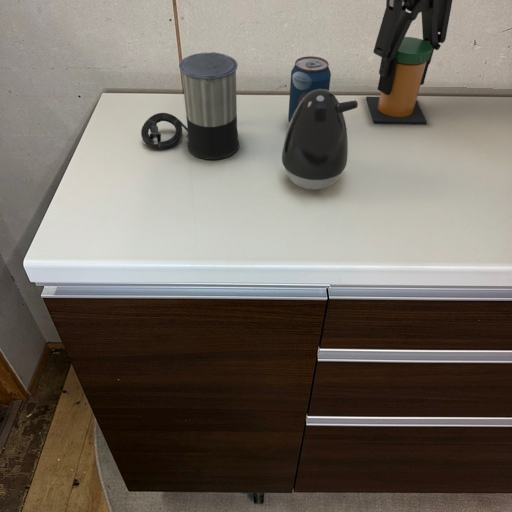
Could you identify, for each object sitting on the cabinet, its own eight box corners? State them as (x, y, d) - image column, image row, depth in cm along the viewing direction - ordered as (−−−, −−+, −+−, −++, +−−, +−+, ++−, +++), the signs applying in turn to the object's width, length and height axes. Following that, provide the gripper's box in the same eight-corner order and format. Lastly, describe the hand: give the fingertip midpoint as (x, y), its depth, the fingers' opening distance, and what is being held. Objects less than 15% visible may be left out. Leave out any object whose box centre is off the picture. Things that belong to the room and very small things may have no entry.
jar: (401, 97, 96) (414, 39, 88) (420, 113, 92) (437, 54, 83) (370, 103, 95) (382, 44, 86) (389, 119, 90) (402, 59, 82)
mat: (414, 99, 97) (415, 97, 96) (426, 124, 90) (426, 121, 89) (366, 99, 97) (366, 96, 97) (373, 123, 90) (374, 120, 90)
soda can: (300, 139, 86) (306, 74, 77) (280, 122, 90) (284, 59, 82) (331, 129, 88) (340, 66, 80) (311, 114, 92) (317, 52, 84)
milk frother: (248, 153, 82) (247, 69, 72) (161, 176, 77) (147, 89, 67) (216, 116, 91) (212, 37, 81) (137, 135, 86) (121, 53, 76)
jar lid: (377, 49, 87) (379, 39, 86) (413, 44, 89) (416, 34, 88) (401, 66, 82) (403, 56, 81) (439, 60, 84) (441, 50, 83)
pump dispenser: (338, 204, 73) (353, 113, 62) (273, 192, 75) (277, 101, 64) (349, 168, 79) (364, 80, 69) (289, 157, 82) (294, 71, 71)
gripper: (461, -66, 80) (425, 68, 96) (366, -51, 72) (345, 91, 88) (497, -56, 75) (454, 82, 91) (400, -40, 68) (371, 108, 84)
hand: (400, 86), depth 90 cm, fingers closed on jar lid, 8 cm apart
